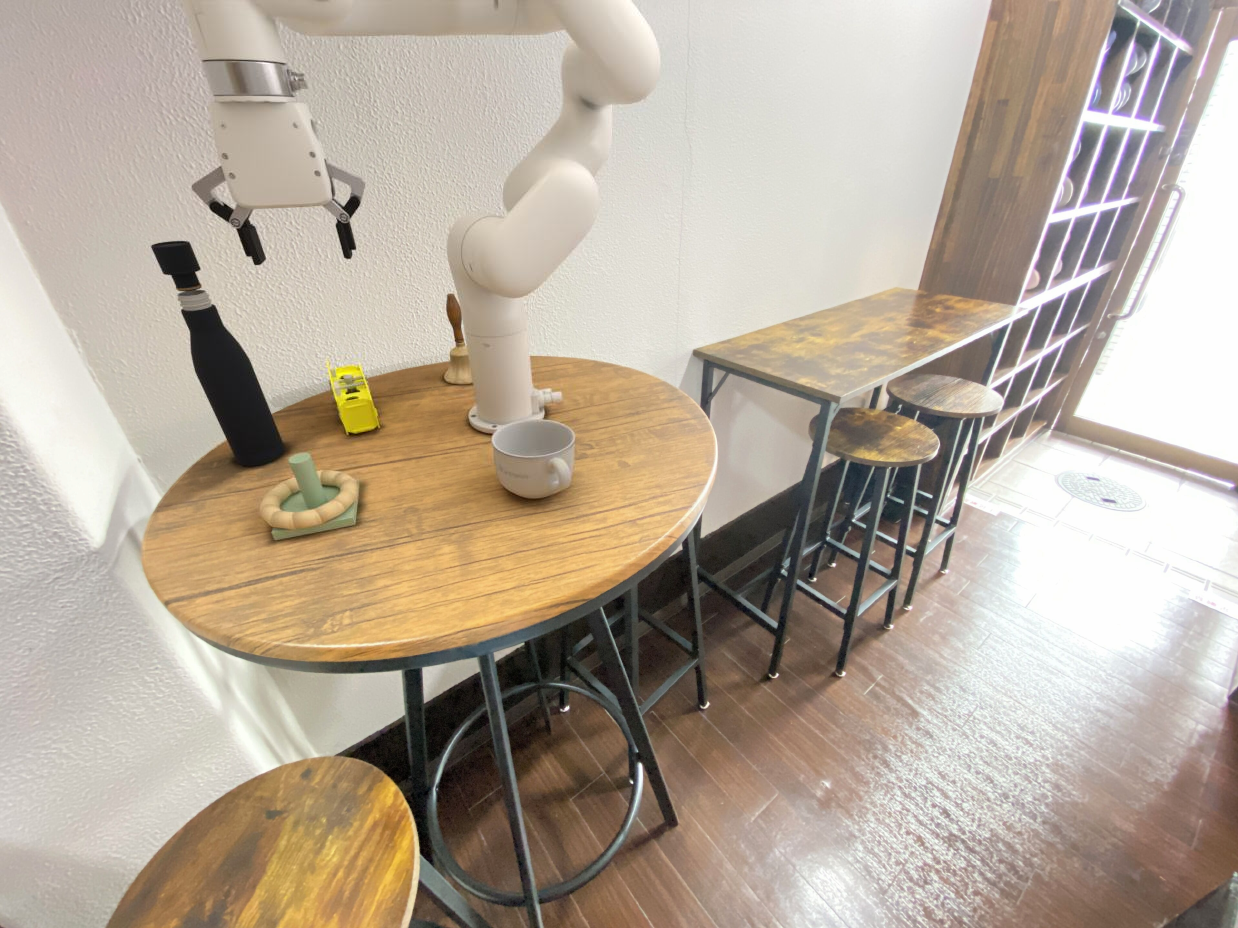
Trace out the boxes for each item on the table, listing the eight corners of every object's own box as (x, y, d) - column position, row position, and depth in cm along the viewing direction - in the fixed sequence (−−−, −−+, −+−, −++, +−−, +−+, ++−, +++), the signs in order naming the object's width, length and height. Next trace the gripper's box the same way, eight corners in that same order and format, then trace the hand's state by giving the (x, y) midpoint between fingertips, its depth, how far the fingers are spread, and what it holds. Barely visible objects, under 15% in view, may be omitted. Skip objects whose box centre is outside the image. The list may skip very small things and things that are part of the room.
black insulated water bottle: (264, 468, 77) (168, 250, 61) (226, 464, 78) (122, 248, 62) (295, 446, 83) (214, 239, 66) (259, 442, 84) (171, 237, 67)
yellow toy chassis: (336, 400, 96) (321, 356, 91) (369, 394, 98) (357, 351, 94) (345, 440, 84) (329, 391, 80) (383, 431, 86) (370, 384, 82)
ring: (360, 473, 74) (357, 461, 73) (357, 520, 65) (353, 507, 64) (271, 489, 71) (266, 477, 70) (255, 540, 62) (249, 527, 61)
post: (359, 485, 74) (343, 434, 69) (355, 525, 66) (336, 470, 62) (287, 498, 71) (265, 445, 67) (274, 540, 64) (248, 485, 60)
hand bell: (465, 388, 100) (451, 303, 92) (435, 378, 104) (418, 296, 95) (496, 373, 106) (485, 292, 97) (466, 364, 110) (453, 285, 101)
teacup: (491, 473, 76) (483, 424, 72) (563, 457, 80) (560, 409, 75) (515, 532, 65) (507, 478, 61) (597, 510, 69) (595, 458, 65)
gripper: (346, 89, 60) (382, 249, 70) (166, 87, 56) (231, 258, 65) (340, 86, 54) (381, 261, 64) (138, 83, 50) (214, 272, 59)
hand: (305, 259), depth 64 cm, fingers open, 9 cm apart
